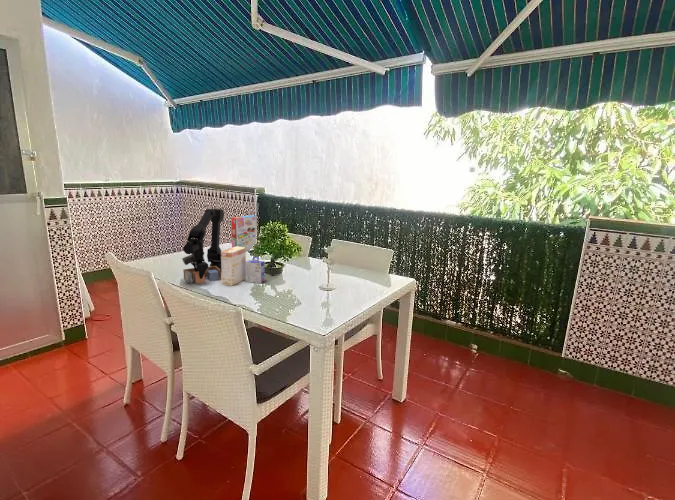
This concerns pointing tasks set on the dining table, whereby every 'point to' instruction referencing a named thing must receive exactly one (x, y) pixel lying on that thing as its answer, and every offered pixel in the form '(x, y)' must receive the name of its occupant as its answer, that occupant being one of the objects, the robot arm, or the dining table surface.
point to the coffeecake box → (233, 265)
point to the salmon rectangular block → (197, 278)
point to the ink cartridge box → (255, 271)
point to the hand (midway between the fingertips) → (199, 276)
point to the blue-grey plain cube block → (212, 275)
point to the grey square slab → (188, 277)
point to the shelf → (205, 271)
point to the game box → (244, 231)
